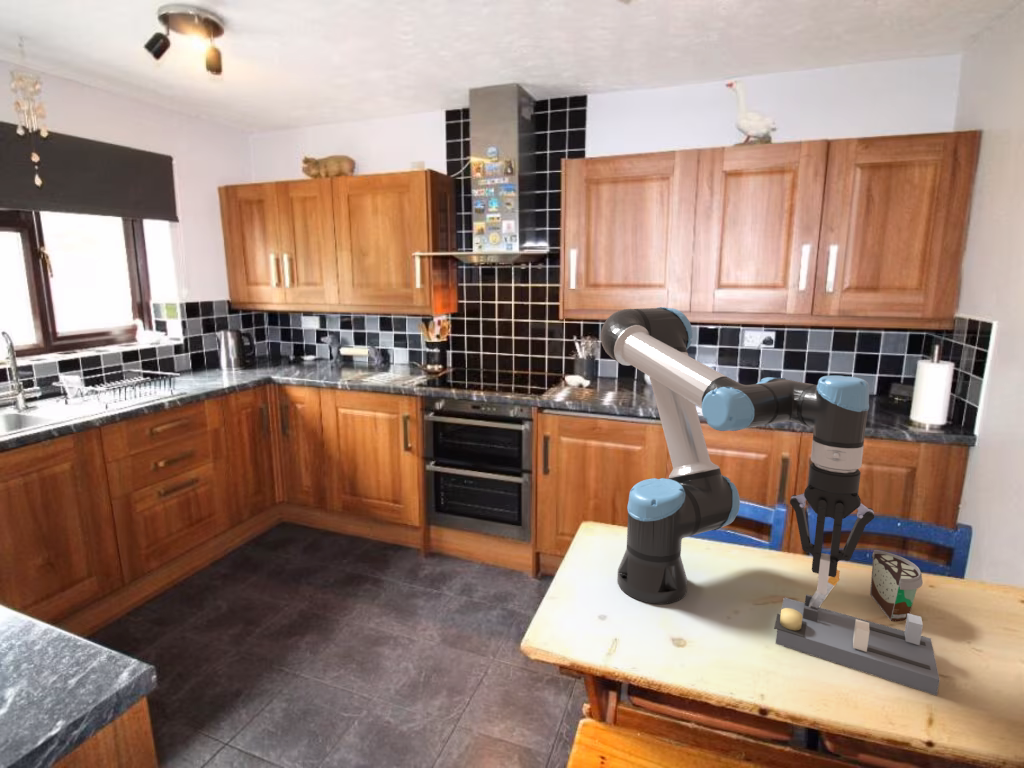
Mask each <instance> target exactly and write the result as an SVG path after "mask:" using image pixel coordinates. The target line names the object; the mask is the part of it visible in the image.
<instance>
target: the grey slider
mask: <svg viewBox="0 0 1024 768" xmlns="http://www.w3.org/2000/svg"><path fill="white" fill-rule="evenodd" d="M923 626H924V624H923V621H922V616H919V615H915V614H912V613H910V614H909V613H907V619H906V620H905V626H904V631H905V632H904V634H905V640H906V642H910V643H913V644H917V645H920V639H921V636H922V634H923V633H922V632H923V628H924V627H923Z"/></svg>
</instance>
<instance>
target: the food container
mask: <svg viewBox="0 0 1024 768" xmlns="http://www.w3.org/2000/svg"><path fill="white" fill-rule="evenodd" d="M871 558H872V566H871V567H872V569H871V570H872V571H871V577H870V578H871V579H870V591H869V595H870V596H871V598H872V599H873V600H874V602H876V604H877V606H878V607H879V608H880V609H881V611H882V612H883V613H884V614H885V615H886V617H887V618H888V620H889V621H890V622H893V623H894V622H895V623H897V622H898V623H899V622H904V621H905V622H906V619H907V613H909V614H911V611H912V607H913V604H914V600H915V596H916V593H917V589H919V588H921V587H922V586H923V575H922V572H921V569H920V568H919V567H918V566H917V565H916V564H915V563H913V562H912V561H910V560H909V559H907V558H904V557H902V556H900V555H898V554H894V553H891V552H887V551H882V550H878V549H877V550H876V549H874V550H873V552H872V555H871Z"/></svg>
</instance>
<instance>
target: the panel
mask: <svg viewBox="0 0 1024 768" xmlns="http://www.w3.org/2000/svg"><path fill="white" fill-rule="evenodd" d="M812 596H813V595H811V594H808V593H806V594H805V599H804V602H802V601H798V600H797V599H796V600H795V599H791V598H788V597H783V600H782V603H781V604H782V605H781V608H780V611H781V610H782V609H784V608H791V609H794V610H797V611H798V612H800V613H801V614H802V616H803V617H802V626H801V629H800V630H796V631H795V630H789V629H787V628H785V627H783V626H782V625H781V624H780V616H781V612H780V613H777V614H776V618H775V621H774V622H775V623H774V630H776V637H775V644H776V645H778V646H781V647H785V648H787V649H792V650H793V651H798V652H801V653H803V654H807V655H810V656H813V657H816V658H819V659H822V660H825V661H829V662H832V663H835V664H838V665H841V666H844V667H847V668H849V669H853V670H856V671H859V672H862V673H866V674H868V675H871V676H875V677H877V678H881V679H884V680H887V681H890V682H892V683H896V684H900V685H903V686H906V687H909V688H912V689H915V690H918V691H920V692H921V691H922V692H924V693H927V694H930V695H933V696H938V691H939V687H940V680H941V679H940V675H939V670H938V665H937V661H936V656H935V653H934V652H935V651H934V648H933V647H934V646H933V642H932V638H931V637H927V636H924V635H921V639H920V645H917V644H913V643H910V642H906V640H905V634H904V632H905V630H902V629H900V628H899V629H898V628H895V627H893V626H888V625H884V624H881V623H878V622H874V621H870V620H867V619H864V618H861V617H857V616H852V615H849V614H845V613H842V612H838V611H834V610H831V609H827V608H823V607H822V606H820V607H819V608H818V610H815V609H812V608H808V606H809V602H810V599H811V598H812ZM856 619H857V620H861V621H864V622H868V623H869V631H870V632H869V639H868V646H867V652H865V651H862V650H859V649H855V648H853V636H854V628H855V621H856Z"/></svg>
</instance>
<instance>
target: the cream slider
mask: <svg viewBox="0 0 1024 768" xmlns="http://www.w3.org/2000/svg"><path fill="white" fill-rule="evenodd" d="M869 632H870V631H869V623H868V622H864V621H861V620H857V619H856V621H855V628H854V636H853V648H855V649H859V650H862V651H865V652H867V646H868V639H869Z"/></svg>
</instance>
